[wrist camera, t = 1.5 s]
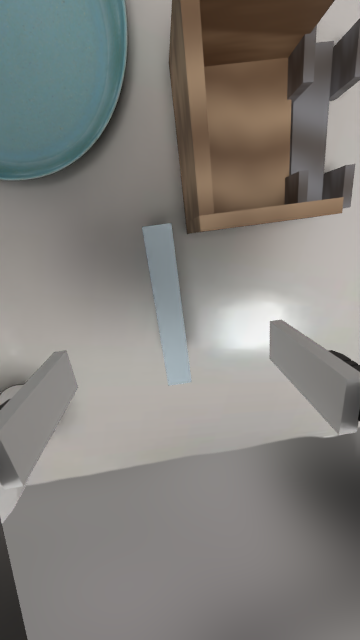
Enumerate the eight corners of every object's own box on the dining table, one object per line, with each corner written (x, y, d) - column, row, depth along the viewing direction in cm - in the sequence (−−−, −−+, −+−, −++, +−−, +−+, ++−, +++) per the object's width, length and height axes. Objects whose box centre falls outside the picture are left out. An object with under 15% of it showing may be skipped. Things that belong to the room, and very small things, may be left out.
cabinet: (168, 62, 23) (175, -58, 14) (339, 44, 24) (456, -82, 14) (187, 233, 29) (200, 231, 19) (325, 215, 29) (404, 204, 20)
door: (147, 230, 28) (141, 226, 20) (167, 227, 28) (171, 223, 20) (166, 348, 34) (168, 385, 25) (183, 345, 34) (191, 382, 25)
